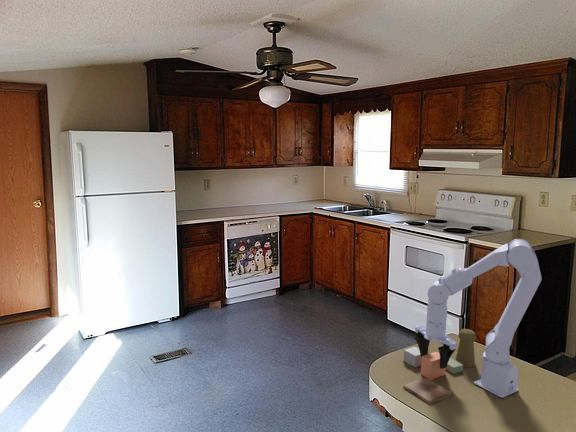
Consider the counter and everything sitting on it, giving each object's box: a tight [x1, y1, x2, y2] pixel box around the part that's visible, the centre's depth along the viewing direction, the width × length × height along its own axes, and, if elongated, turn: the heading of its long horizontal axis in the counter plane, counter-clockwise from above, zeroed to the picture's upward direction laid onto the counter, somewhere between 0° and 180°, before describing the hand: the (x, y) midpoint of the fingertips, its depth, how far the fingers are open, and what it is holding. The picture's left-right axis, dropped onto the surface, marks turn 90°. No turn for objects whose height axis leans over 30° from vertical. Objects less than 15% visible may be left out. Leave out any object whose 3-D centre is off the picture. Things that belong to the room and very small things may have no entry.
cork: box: [455, 328, 477, 368], centre depth 153 cm, size 6×6×11 cm
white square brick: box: [403, 346, 422, 368], centre depth 153 cm, size 5×5×4 cm
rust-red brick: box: [420, 351, 447, 381], centre depth 145 cm, size 4×6×6 cm, turn 122°
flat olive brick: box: [445, 356, 464, 374], centre depth 150 cm, size 6×4×2 cm, turn 25°
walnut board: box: [403, 376, 453, 405], centre depth 136 cm, size 10×9×1 cm
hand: (433, 362), depth 145 cm, fingers open, 7 cm apart
